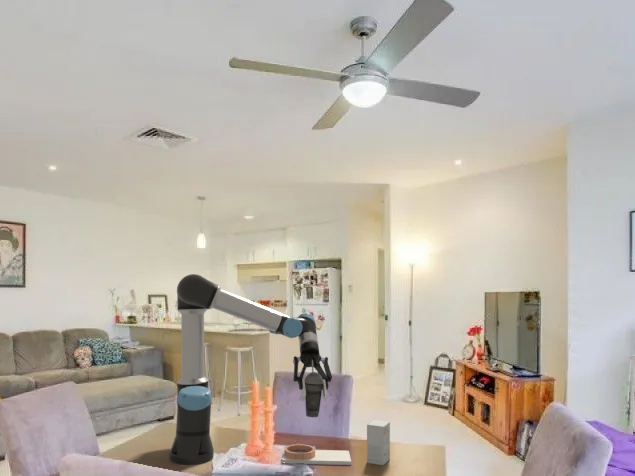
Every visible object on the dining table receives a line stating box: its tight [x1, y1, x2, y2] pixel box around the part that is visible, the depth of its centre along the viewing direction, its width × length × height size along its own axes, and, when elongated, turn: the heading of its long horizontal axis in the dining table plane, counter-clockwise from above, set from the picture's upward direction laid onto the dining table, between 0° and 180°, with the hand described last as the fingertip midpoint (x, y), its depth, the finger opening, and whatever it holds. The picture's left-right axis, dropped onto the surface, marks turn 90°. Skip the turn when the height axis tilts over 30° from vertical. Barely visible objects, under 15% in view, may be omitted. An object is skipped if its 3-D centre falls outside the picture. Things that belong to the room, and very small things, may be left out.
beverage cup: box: [304, 360, 323, 418], centre depth 180 cm, size 7×7×20 cm
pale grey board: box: [281, 449, 352, 466], centre depth 173 cm, size 24×12×1 cm, turn 90°
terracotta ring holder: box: [283, 443, 316, 460], centre depth 173 cm, size 11×11×2 cm
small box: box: [366, 419, 391, 466], centre depth 173 cm, size 8×6×13 cm
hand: (314, 396), depth 176 cm, fingers closed on beverage cup, 7 cm apart
